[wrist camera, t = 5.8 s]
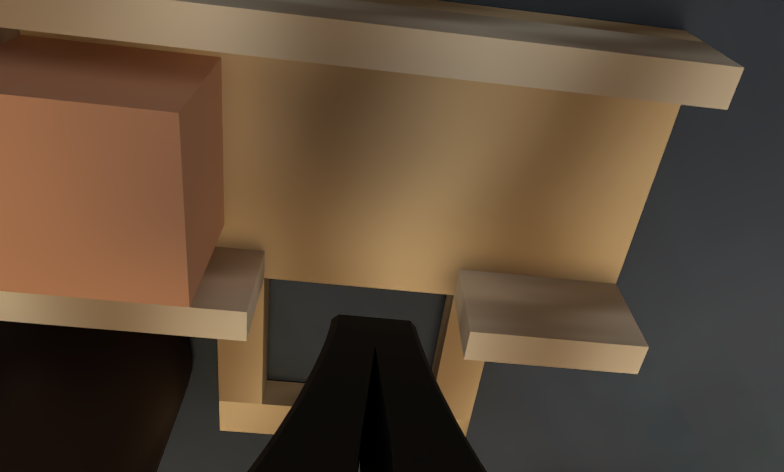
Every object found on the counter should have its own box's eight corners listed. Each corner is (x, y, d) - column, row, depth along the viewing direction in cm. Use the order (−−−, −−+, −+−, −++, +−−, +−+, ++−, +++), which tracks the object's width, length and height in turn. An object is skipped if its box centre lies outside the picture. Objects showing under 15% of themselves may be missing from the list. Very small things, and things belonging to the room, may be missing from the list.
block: (221, 57, 17) (179, 112, 13) (224, 224, 19) (189, 307, 16) (19, 34, 16) (-77, 85, 13) (50, 207, 19) (-24, 288, 15)
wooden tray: (685, 30, 18) (761, 78, 14) (547, 430, 26) (573, 526, 22) (17, -51, 16) (-86, -21, 13) (92, 395, 24) (42, 491, 21)
